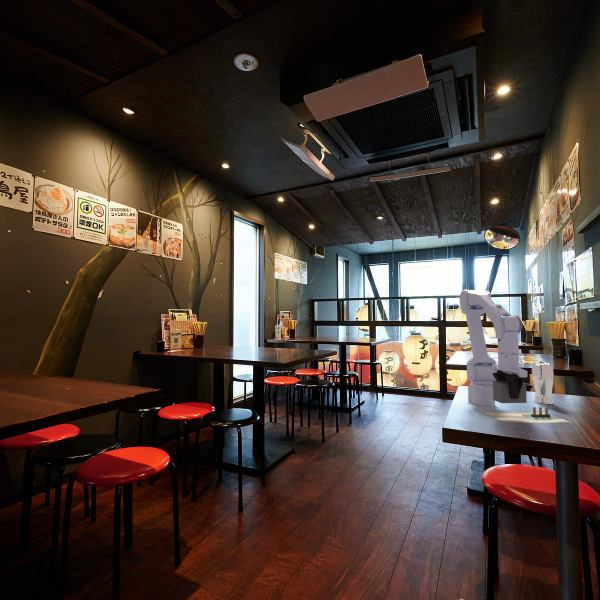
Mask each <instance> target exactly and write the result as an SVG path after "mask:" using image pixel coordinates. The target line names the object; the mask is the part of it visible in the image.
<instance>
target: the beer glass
mask: <svg viewBox="0 0 600 600" xmlns="http://www.w3.org/2000/svg"><path fill="white" fill-rule="evenodd" d="M554 378H555V377H554V367H553V364H552V363H547V362H545V363H543V362H532V364H531V379H532V383H533V387H534V392H535V394H534V400H533V401H534V403H535V402H536V404H539V403H540V404H539V405H547V404H551V405H554V400H553V397H552V395H553V393H552V392H553V386H554Z"/></svg>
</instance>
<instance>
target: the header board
mask: <svg viewBox="0 0 600 600" xmlns="http://www.w3.org/2000/svg"><path fill="white" fill-rule="evenodd" d="M485 414H486V415H487V416H490V417H493V419H497V420H499V421H501V422H504V423H506V424H542V423H543V424H546V423H547V424H549V423H553V424H554V423H570V421H569V420H566V419H563V418H560V417H559V416H555V415H552V414H550V413H549V407H547V406H545V407H544V411H543V407H541V406H539V407H538V411H537V407H536V406H532V411H514V412H513V411H511V412H510V411H507V412H506V411H504V412H503V411H502V412H500V411H498V412H496V411H495V412H494V411H493V412H485Z"/></svg>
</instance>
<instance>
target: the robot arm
mask: <svg viewBox="0 0 600 600" xmlns="http://www.w3.org/2000/svg"><path fill="white" fill-rule="evenodd" d="M459 306H460V310H461V313H462V314H464V315H465V318H466V323H467V329H468V335H469V340H470V341H469V342H470V346H471V347H470V348H471V352H472V357H471V358H470V359H468V360H467V362H466V377H467V379H468V380H469V382H470V383H469V385H468V386H467V387H468V388H467V402H468V404H473V405H477V406H481V407H495V406H496V401H495V400H493V381H507V382H508V386H509V392H510V397H511V399H518V398H519V395H520V391H521V388H522V385H523V384H524V383H526V380H527V378H528V370H525V369H523V368H520V355H519V353H520V352H519V334H520V333H521V331H522V330H523V321H522V319H521V317H520V316H519V315H516V314H515V315H514V314H513V315H511V313H509V311H507V309H505V308H504V307H503V305H502V304H500V303H497V304H496V303H495V302H494V301H493V299H492V292H490V291H489V290H488V289H484V290H483V289H482V290H481V289H476V290H475V289H474V290H473V289H462V290H461V292H460V294H459ZM483 314H485V315H486V317H487V318H488V320H490V321H491V323H492V324H493V330H494V332H495V333H494V334H495V339H497V360H496V359H493V358H492V357H491V356H489V355H488V349H487V343H486V339H485V334H484V329H483V324H482V318H481V316H482V315H483ZM497 361H498V363H497Z"/></svg>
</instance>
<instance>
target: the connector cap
mask: <svg viewBox="0 0 600 600" xmlns="http://www.w3.org/2000/svg"><path fill="white" fill-rule="evenodd" d="M493 400H495V402H498V403H500V404H527V383H526V382H524V384H523V385H522V388H521V391H520V395H519V398H518V399H511V397H510V392H509V386H508V382H507V381H493Z"/></svg>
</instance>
